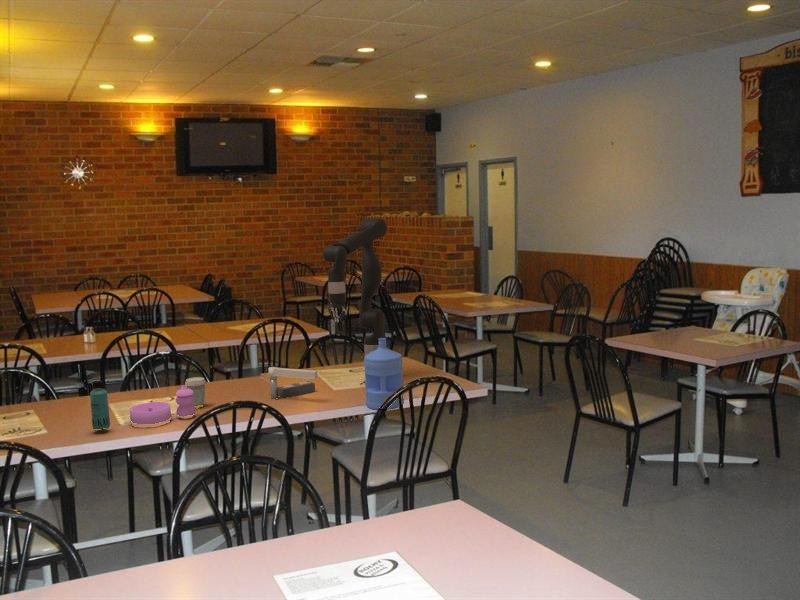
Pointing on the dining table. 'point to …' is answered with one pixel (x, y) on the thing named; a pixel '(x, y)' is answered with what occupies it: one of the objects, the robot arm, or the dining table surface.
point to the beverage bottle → (99, 406)
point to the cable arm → (292, 373)
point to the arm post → (273, 388)
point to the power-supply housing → (296, 389)
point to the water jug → (382, 376)
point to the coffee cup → (197, 389)
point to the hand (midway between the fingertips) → (339, 330)
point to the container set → (163, 408)
